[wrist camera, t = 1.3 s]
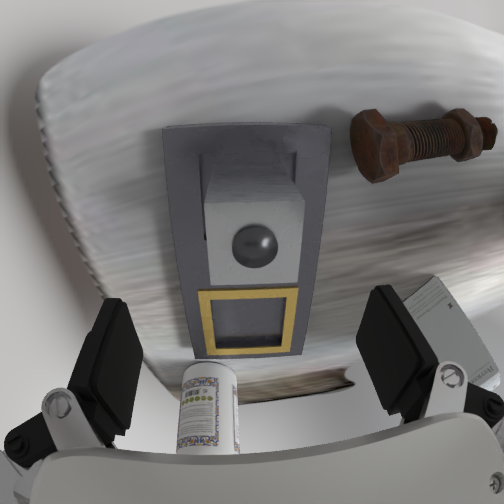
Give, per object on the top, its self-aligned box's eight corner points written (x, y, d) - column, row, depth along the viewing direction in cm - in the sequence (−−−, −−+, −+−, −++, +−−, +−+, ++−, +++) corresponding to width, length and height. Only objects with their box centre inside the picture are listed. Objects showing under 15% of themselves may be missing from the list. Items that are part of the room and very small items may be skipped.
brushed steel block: (281, 163, 21) (306, 203, 14) (278, 222, 24) (298, 285, 17) (213, 163, 21) (203, 205, 14) (216, 224, 24) (210, 288, 16)
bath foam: (173, 376, 35) (160, 518, 18) (204, 352, 33) (198, 518, 16) (214, 394, 38) (215, 525, 21) (247, 374, 36) (258, 522, 19)
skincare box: (435, 273, 29) (504, 366, 17) (446, 298, 32) (504, 382, 19) (381, 316, 32) (431, 420, 19) (398, 336, 34) (442, 427, 22)
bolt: (465, 131, 22) (345, 148, 23) (478, 95, 18) (349, 100, 19) (497, 172, 20) (375, 199, 20) (516, 135, 15) (387, 150, 16)
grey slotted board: (324, 125, 21) (332, 128, 19) (298, 343, 33) (301, 356, 31) (167, 126, 20) (161, 129, 18) (196, 347, 32) (195, 360, 31)
